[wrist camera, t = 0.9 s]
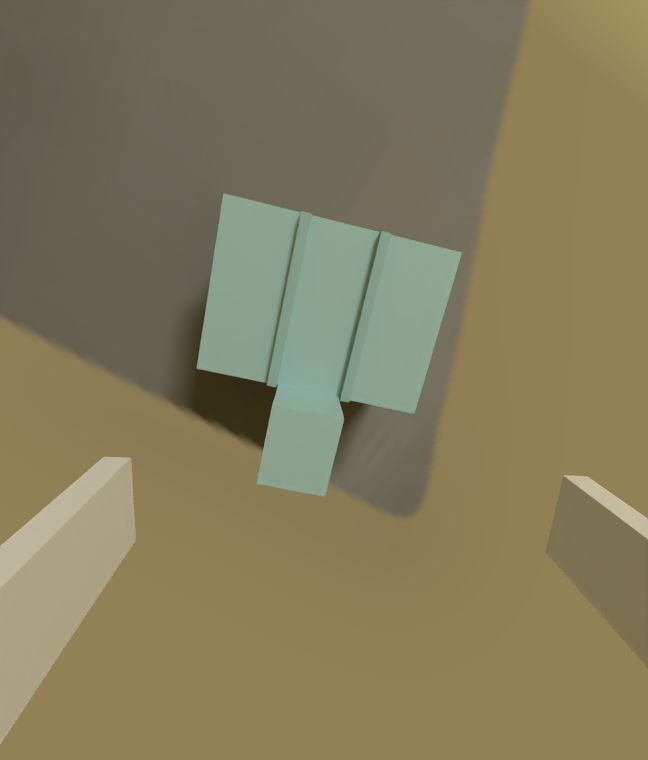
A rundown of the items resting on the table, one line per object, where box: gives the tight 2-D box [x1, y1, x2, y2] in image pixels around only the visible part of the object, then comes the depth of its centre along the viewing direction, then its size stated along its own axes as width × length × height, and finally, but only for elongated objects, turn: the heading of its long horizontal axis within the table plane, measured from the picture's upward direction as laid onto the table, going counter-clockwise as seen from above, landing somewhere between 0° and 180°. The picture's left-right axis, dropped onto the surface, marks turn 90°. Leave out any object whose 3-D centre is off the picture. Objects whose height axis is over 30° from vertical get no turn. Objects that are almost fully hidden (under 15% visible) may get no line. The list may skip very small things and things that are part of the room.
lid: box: [197, 194, 462, 496], centre depth 24 cm, size 15×15×6 cm
